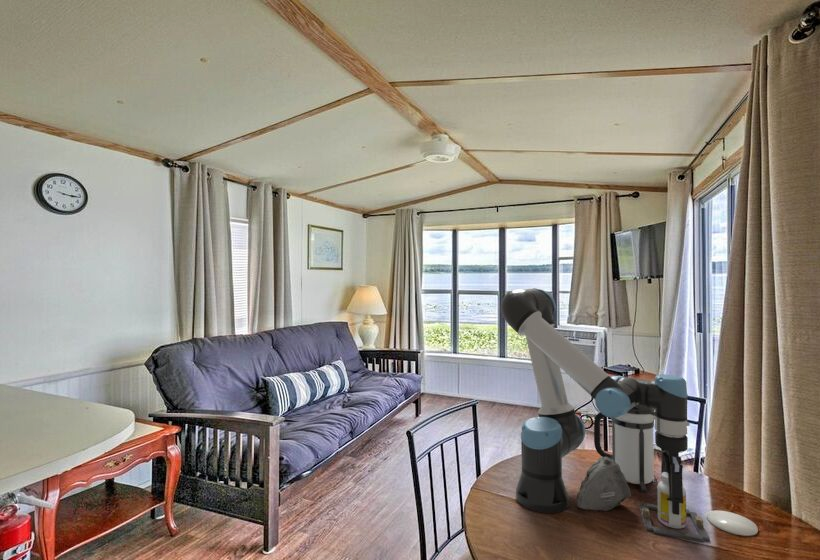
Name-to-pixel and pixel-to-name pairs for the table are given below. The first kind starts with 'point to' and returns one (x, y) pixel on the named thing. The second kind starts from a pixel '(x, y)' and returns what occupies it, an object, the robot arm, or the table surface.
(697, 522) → the grey square frame
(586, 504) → the decorative rock
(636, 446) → the coffee press
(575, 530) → the table surface
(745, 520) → the coaster
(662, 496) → the supplement bottle
